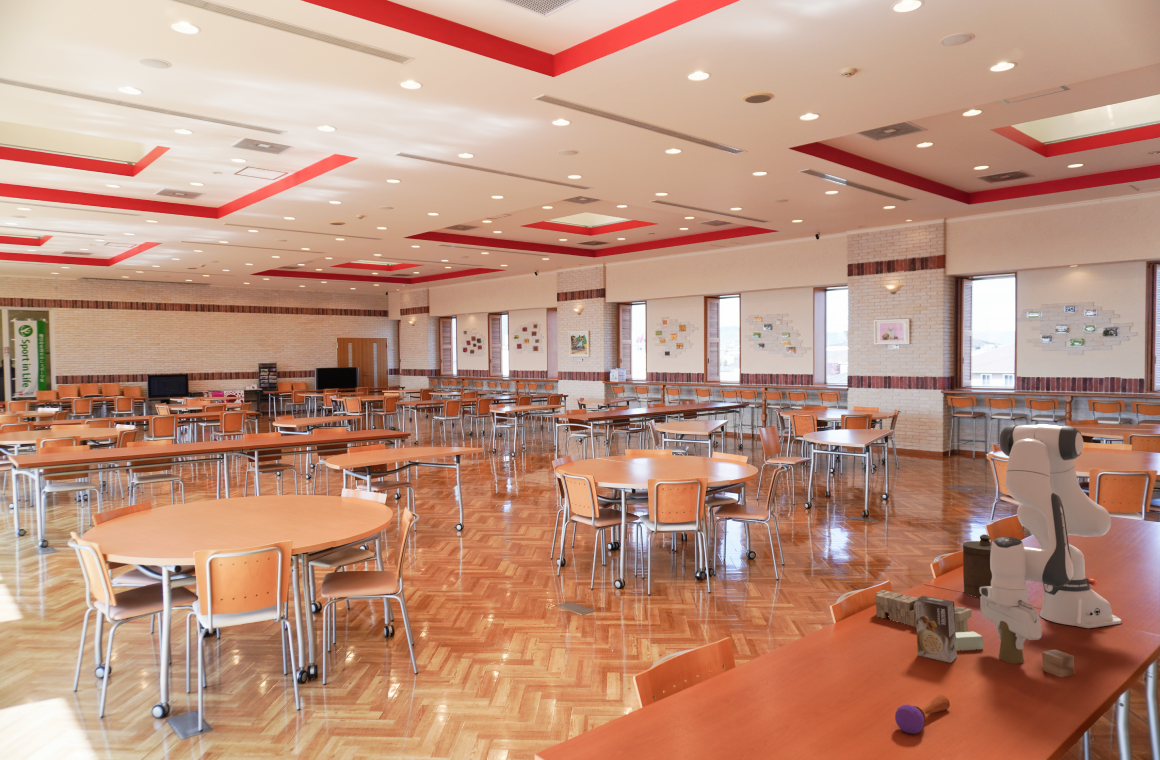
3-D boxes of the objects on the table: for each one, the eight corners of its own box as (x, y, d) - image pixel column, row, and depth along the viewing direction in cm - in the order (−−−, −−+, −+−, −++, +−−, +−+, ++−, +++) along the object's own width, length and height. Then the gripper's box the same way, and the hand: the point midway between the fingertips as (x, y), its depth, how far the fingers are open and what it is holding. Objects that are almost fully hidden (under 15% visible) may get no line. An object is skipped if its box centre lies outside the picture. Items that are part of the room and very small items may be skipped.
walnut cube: (1055, 667, 189) (1055, 649, 189) (1074, 674, 184) (1073, 655, 184) (1042, 670, 187) (1042, 652, 187) (1061, 677, 182) (1060, 658, 183)
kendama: (957, 696, 165) (918, 716, 152) (953, 720, 165) (913, 742, 152) (932, 684, 169) (892, 702, 157) (928, 707, 170) (888, 727, 157)
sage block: (974, 644, 207) (973, 631, 207) (983, 649, 203) (982, 636, 203) (948, 646, 206) (948, 632, 206) (957, 651, 202) (956, 637, 202)
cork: (1027, 663, 192) (1026, 624, 192) (1003, 662, 193) (1002, 623, 193) (1018, 655, 198) (1017, 617, 198) (995, 654, 199) (994, 616, 199)
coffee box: (957, 656, 198) (956, 601, 198) (950, 663, 193) (948, 606, 193) (924, 649, 204) (922, 594, 204) (916, 655, 200) (914, 600, 200)
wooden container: (992, 587, 262) (990, 530, 263) (1019, 599, 248) (1017, 538, 248) (955, 589, 262) (953, 531, 262) (980, 601, 247) (978, 540, 247)
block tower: (872, 619, 234) (961, 640, 211) (871, 594, 235) (959, 612, 211) (885, 614, 239) (973, 633, 216) (883, 589, 239) (971, 606, 216)
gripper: (1047, 606, 185) (1049, 658, 185) (995, 585, 206) (997, 631, 206) (1025, 607, 185) (1027, 659, 185) (975, 586, 205) (977, 632, 205)
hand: (1010, 644), depth 195 cm, fingers closed on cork, 5 cm apart
